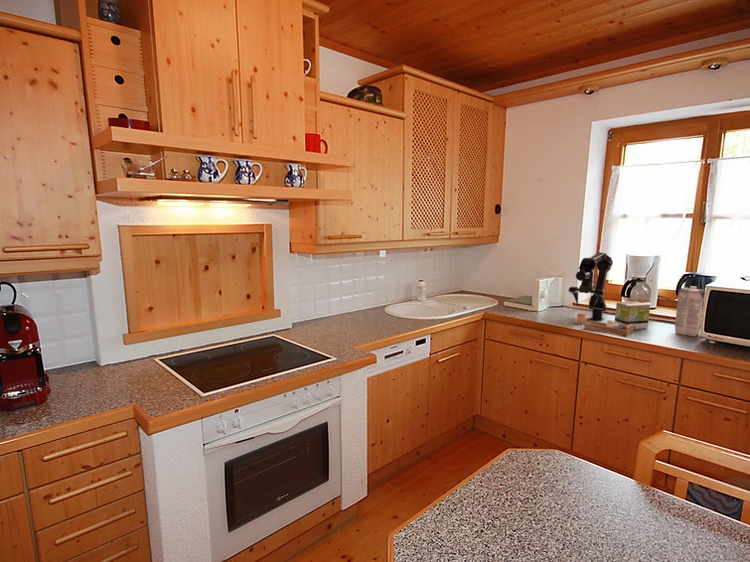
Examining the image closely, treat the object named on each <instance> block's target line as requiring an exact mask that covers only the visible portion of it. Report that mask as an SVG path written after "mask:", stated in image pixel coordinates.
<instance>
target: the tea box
mask: <svg viewBox="0 0 750 562" xmlns="http://www.w3.org/2000/svg"><path fill="white" fill-rule="evenodd" d="M650 313H651V304H649V303H644V302H640V301H621V302H616V306H615V314H614V316H615V317H614V321H616V322H617V325H618V324H619V323H621V326H625V327H627V326H629V325H630V324H633V330H644V329H643V328H647V329H648V327H649V320H650V319H649V318H650Z"/></svg>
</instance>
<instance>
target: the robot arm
mask: <svg viewBox="0 0 750 562" xmlns="http://www.w3.org/2000/svg"><path fill="white" fill-rule="evenodd" d="M613 263H614V262H613V259H612V257H611V256H609V255H608V254H607V253H606V252H599V251H598V252H596V253H595V254H594V255H592V256H589V257H584V258H582V260H581V262H580V263H579V267H578V270H579V271H577V272H576V274H575V277H576V280H577V281H580V282H581V283H580V285H579V287H578V286H570V287H569V288H568V292H569V293H570V294H572V295H573V297H574V300H575V302H576V303H575V304H576V305H578V303H579V294H581V293H584V294H592V295H590V299H589V302H588V306H589V307H588V308H589V310H591V311H592V313H591V317H590V318H589V320H593V319H594V320H593V321H599V320H600V321H603V320H604V319H605V318H604V317H603V313H604V312H606V311H607V309H608V307H607V305H606V299H605V297H604V296H605V294H606V291H605V284H606V280H607V276H608V275H607V274H608V273H609V271H611V269H612V266H613ZM596 268H597V270H598V274H597V278H596V279H597V280H596V283H595V289H594V286H593V282H594V272H595V269H596ZM600 321H599V322H600Z"/></svg>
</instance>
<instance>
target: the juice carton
mask: <svg viewBox="0 0 750 562" xmlns="http://www.w3.org/2000/svg"><path fill="white" fill-rule="evenodd" d="M689 286H690V287H682V288H680V289H679V290H678V297H677V304H676V314H675V321H674V322H675V323H674V330H675V334H676V333H677V335H681V334H682V335H683V336H687V335H688V336H687V337H692V336H693V337H696V336H698V335H699V333H700V332H701V328H700V325H701V326H702V320H701V316H702V317H703V312H702V308H703V309H704V303H703V301H705V289H701V288H697V286H693V285H689ZM682 335H681V336H682ZM693 337H692V338H693Z"/></svg>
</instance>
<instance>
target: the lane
mask: <svg viewBox="0 0 750 562" xmlns="http://www.w3.org/2000/svg"><path fill="white" fill-rule="evenodd" d="M583 326H584V327H583V329H584V328H586V329H585V330H590V329H591V331H595V330H597V331H596V332H601V331H603V332H602V333H606V332H609V333H608V334H612V333H614V334H613V335H617V334H618V336H623V335H625V336H624V337H628V335H629V334H630V335H632V334H633V331H634V329H633V324H630V325H629V326H627V327H625V326H621V327H623V330H622V329H616V328H610V327H606V322H600V321H596V320H589V323H587V322H586V323H585V325H583ZM631 333H632V334H631ZM630 335H629V336H630Z"/></svg>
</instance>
